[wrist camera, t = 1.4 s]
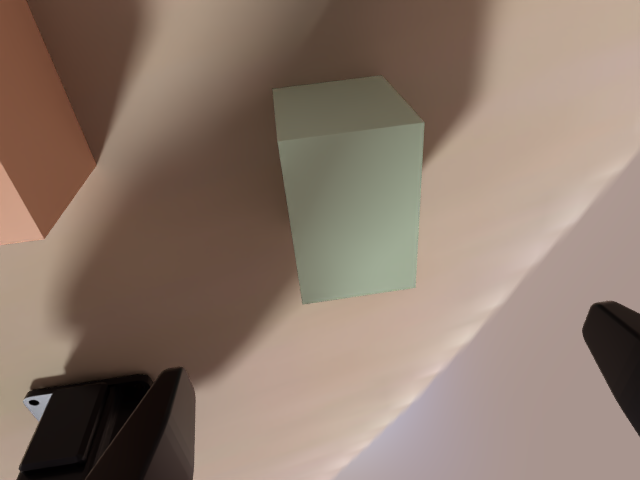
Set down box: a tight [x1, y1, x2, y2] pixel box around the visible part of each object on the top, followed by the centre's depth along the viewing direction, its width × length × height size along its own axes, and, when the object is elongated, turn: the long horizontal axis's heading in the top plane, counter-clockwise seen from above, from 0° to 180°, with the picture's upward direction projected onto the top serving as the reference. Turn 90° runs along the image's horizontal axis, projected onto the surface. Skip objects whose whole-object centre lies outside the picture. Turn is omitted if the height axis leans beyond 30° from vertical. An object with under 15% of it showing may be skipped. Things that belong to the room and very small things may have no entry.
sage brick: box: [272, 75, 425, 304], centre depth 15 cm, size 6×4×5 cm, turn 5°
